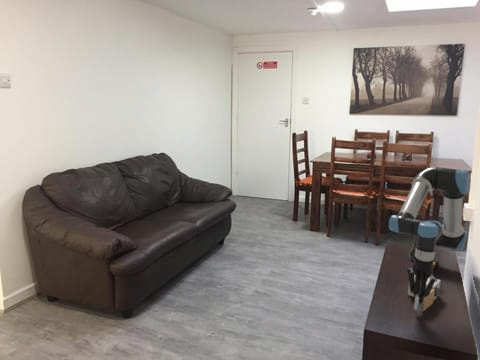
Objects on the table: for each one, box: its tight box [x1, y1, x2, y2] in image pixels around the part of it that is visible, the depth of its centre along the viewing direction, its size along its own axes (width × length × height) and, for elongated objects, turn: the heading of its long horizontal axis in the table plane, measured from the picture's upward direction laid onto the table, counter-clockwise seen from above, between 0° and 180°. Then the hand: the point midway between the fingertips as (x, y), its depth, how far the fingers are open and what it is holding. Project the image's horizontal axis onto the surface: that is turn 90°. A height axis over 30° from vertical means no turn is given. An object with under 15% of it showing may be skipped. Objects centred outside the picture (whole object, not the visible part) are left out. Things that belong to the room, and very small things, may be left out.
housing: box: [407, 274, 442, 302], centre depth 190 cm, size 10×12×9 cm
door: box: [416, 288, 435, 314], centre depth 178 cm, size 1×16×8 cm, turn 133°
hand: (417, 308), depth 174 cm, fingers closed
